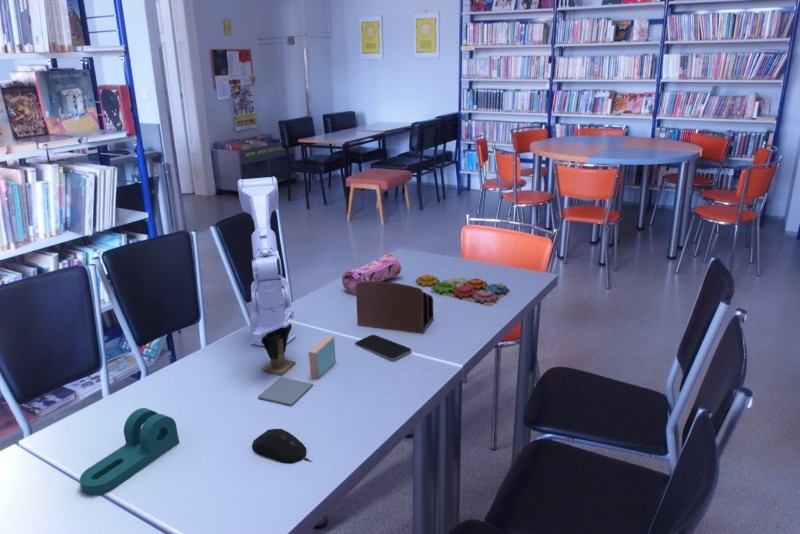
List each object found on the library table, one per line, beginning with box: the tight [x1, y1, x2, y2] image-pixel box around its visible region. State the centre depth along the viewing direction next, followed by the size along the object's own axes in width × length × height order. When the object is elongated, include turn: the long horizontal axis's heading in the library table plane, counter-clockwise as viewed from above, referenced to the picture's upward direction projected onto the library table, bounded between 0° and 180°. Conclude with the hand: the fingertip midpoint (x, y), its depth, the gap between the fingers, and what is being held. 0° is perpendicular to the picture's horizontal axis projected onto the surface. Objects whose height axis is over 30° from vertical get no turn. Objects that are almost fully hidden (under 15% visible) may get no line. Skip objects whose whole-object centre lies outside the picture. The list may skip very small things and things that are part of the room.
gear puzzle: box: [415, 274, 511, 307], centre depth 188 cm, size 31×16×4 cm, turn 55°
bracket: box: [79, 407, 180, 497], centre depth 109 cm, size 18×7×8 cm, turn 151°
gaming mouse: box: [251, 428, 313, 465], centre depth 112 cm, size 6×15×4 cm, turn 60°
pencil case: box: [341, 253, 402, 296], centre depth 193 cm, size 21×9×9 cm, turn 141°
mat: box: [257, 376, 314, 407], centre depth 133 cm, size 9×9×1 cm
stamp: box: [260, 338, 297, 377], centre depth 143 cm, size 6×6×8 cm
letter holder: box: [355, 281, 434, 335], centre depth 164 cm, size 10×20×14 cm, turn 70°
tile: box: [308, 335, 337, 380], centre depth 141 cm, size 2×9×7 cm, turn 157°
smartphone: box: [354, 334, 412, 362], centre depth 152 cm, size 7×1×15 cm
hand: (277, 355), depth 143 cm, fingers closed on stamp, 2 cm apart
